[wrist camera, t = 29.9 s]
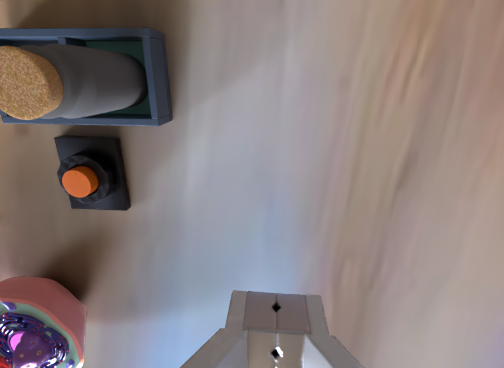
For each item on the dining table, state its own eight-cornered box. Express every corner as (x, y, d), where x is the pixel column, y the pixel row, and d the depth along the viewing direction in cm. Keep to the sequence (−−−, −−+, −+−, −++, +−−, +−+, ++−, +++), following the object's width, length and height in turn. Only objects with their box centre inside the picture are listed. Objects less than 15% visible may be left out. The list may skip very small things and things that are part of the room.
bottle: (131, 116, 34) (33, 145, 20) (91, 81, 33) (-42, 84, 19) (160, 80, 33) (74, 83, 19) (119, 40, 31) (-6, 13, 17)
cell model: (-16, 251, 45) (-105, 305, 34) (107, 265, 44) (54, 325, 34) (8, 330, 51) (-61, 396, 40) (117, 344, 50) (75, 415, 40)
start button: (68, 165, 36) (58, 169, 34) (96, 166, 35) (87, 170, 34) (74, 191, 37) (65, 197, 35) (101, 192, 37) (93, 198, 35)
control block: (60, 135, 37) (42, 140, 34) (119, 136, 36) (106, 142, 34) (76, 205, 41) (62, 214, 38) (130, 207, 40) (120, 217, 37)
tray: (10, 34, 33) (-27, 28, 29) (164, 33, 32) (148, 27, 28) (32, 118, 36) (2, 123, 32) (172, 120, 35) (159, 126, 31)
